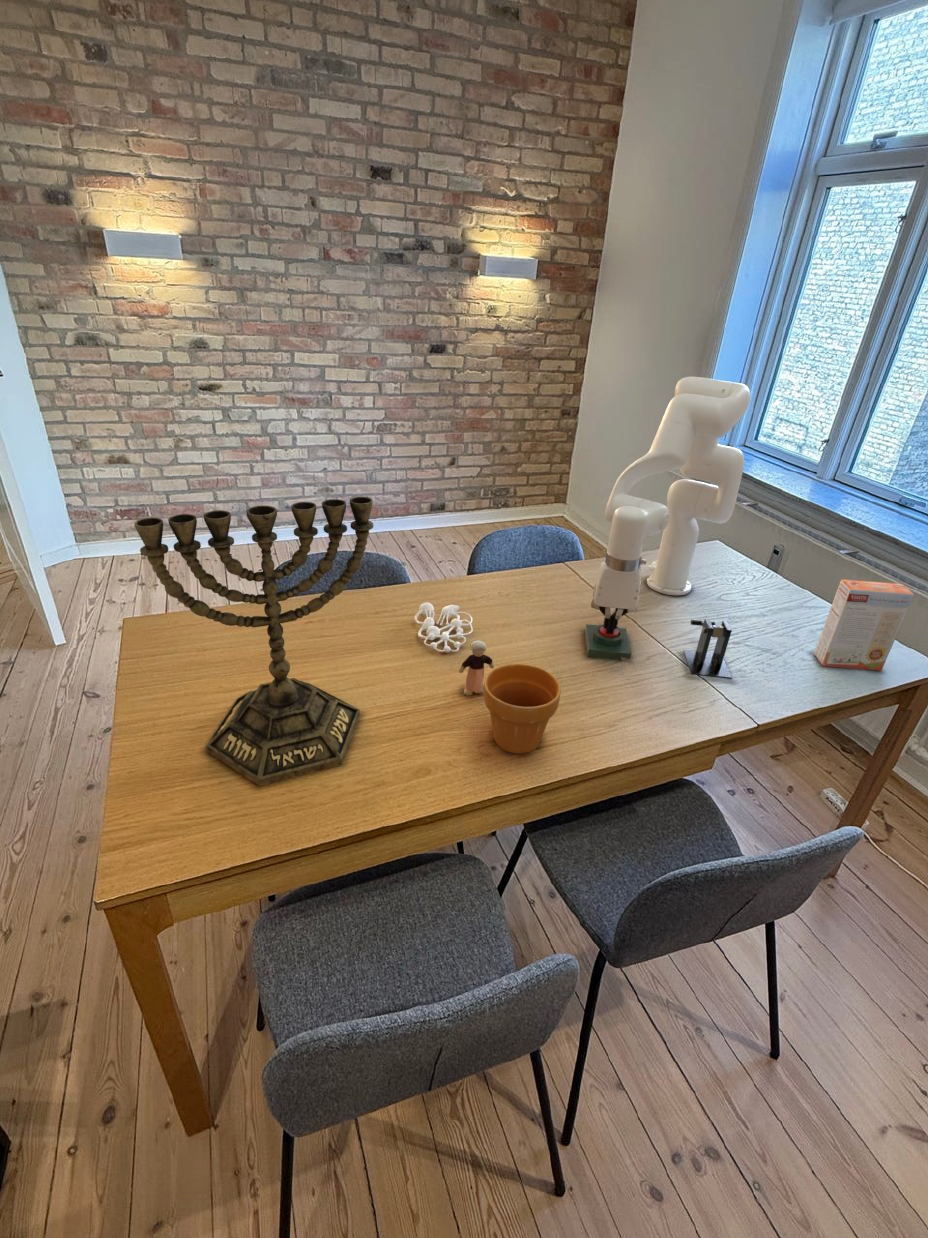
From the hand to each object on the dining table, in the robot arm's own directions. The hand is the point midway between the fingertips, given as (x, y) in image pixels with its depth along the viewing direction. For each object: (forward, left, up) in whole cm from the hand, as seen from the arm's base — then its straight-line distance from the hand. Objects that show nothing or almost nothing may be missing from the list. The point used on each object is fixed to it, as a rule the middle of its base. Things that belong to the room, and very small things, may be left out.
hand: (609, 630), depth 154 cm
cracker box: (+26, +52, -5) cm, 58 cm away
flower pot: (+23, -37, -5) cm, 44 cm away
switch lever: (+12, +19, +3) cm, 23 cm away
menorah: (+6, -78, -5) cm, 78 cm away
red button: (0, 0, -2) cm, 2 cm away
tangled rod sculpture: (-19, -35, -5) cm, 40 cm away
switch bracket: (+16, +17, -5) cm, 24 cm away
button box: (0, 0, -5) cm, 5 cm away
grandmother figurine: (+6, -38, -5) cm, 39 cm away
